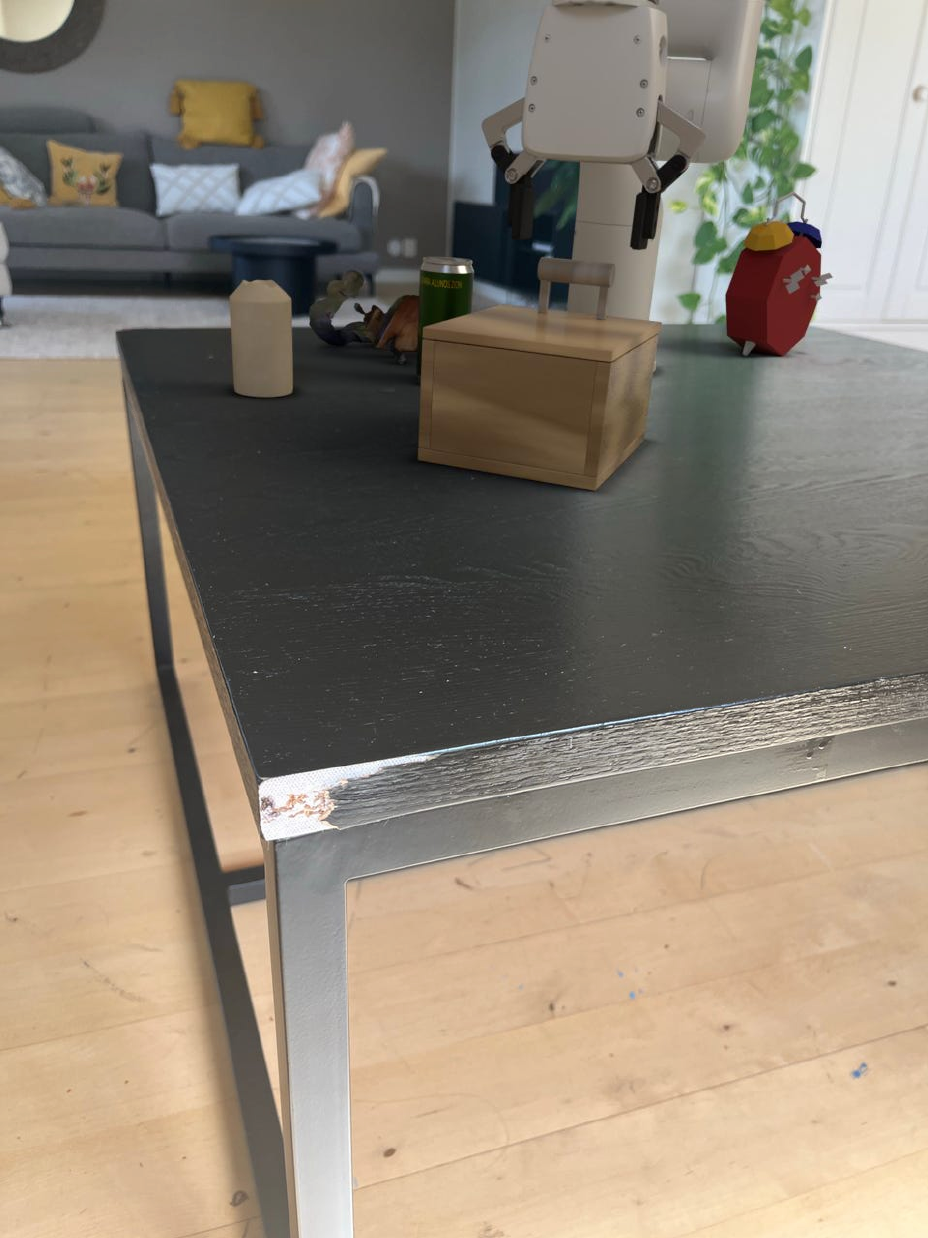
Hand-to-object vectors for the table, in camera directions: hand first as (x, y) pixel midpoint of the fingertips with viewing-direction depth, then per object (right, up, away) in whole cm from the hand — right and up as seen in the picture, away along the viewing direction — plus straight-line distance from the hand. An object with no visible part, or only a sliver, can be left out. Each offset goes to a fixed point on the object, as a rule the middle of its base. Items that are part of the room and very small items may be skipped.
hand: (578, 243), depth 76 cm
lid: (-3, -8, -2) cm, 8 cm away
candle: (-28, -8, +15) cm, 33 cm away
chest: (-3, -16, +2) cm, 17 cm away
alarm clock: (+32, +6, +53) cm, 62 cm away
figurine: (-19, +1, +36) cm, 41 cm away
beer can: (-11, -5, +24) cm, 27 cm away
